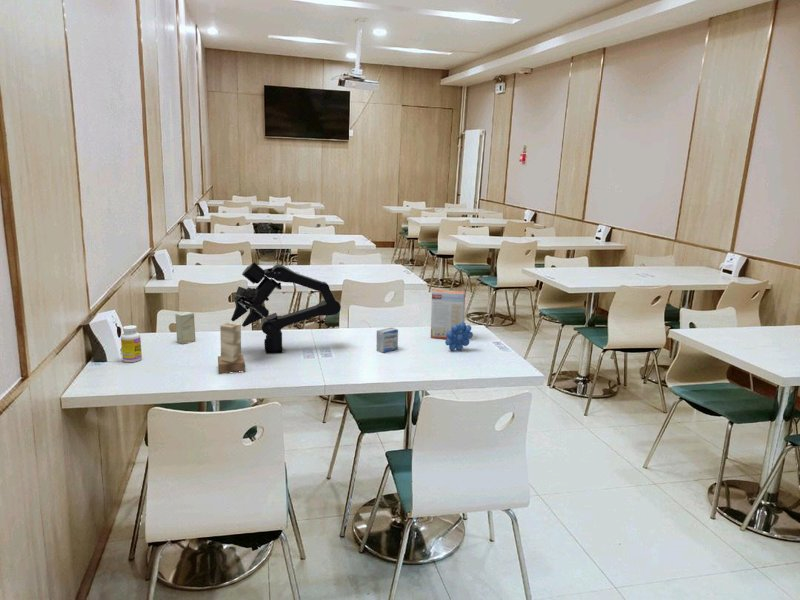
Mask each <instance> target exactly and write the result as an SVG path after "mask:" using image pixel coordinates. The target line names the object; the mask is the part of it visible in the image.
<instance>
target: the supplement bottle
mask: <svg viewBox="0 0 800 600" xmlns="http://www.w3.org/2000/svg"><path fill="white" fill-rule="evenodd" d="M137 327H138V326H137V325H134V324H133V325H125V326H123V327H122V331H123V333H122V334H121V335H120V345H121V357H122V361H123V362H125V363H137V362H140V361H141V360H142V359H143V355H142V342H141V339H142V338H141V333H139V332H138V331H137V330H138V328H137ZM136 361H137V362H136Z"/></svg>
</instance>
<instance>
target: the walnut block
mask: <svg viewBox="0 0 800 600" xmlns="http://www.w3.org/2000/svg"><path fill="white" fill-rule="evenodd" d="M244 357H245V356H244V354H241V359H239V360H237V361H234V362H228V361H224V360H221V355H220V356H217V365H218V366H217V369H218V374H219V373H226V374H231V373H230V372H238V373H240V372H239V371H245V372H246V362H245V358H244Z"/></svg>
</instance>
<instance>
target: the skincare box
mask: <svg viewBox="0 0 800 600" xmlns="http://www.w3.org/2000/svg"><path fill="white" fill-rule="evenodd" d="M174 317H175V329H176V331H175V332H176V342H177V343H178V344H181V345H185V344H188V342H190V343H193V342H192V341H194V342H196V341H195V340H196V325H195V312H191V311H185V312H184V311H183V312H179V313H175V315H174ZM184 343H185V344H184Z"/></svg>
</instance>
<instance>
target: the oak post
mask: <svg viewBox="0 0 800 600" xmlns="http://www.w3.org/2000/svg"><path fill="white" fill-rule="evenodd" d="M219 326H220V356H221V360H224V361H228V362H234V361H237V360H239V359H241V355H242V324H241V323H235V322H233V321H232V322H231V321H229V322H226V323H222V324H220V325H219Z"/></svg>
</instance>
